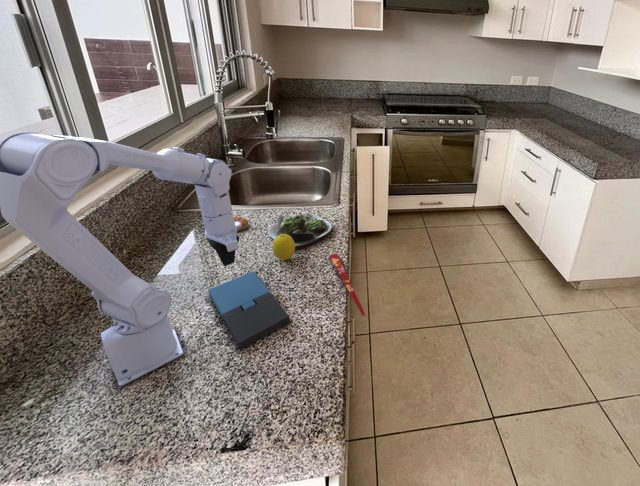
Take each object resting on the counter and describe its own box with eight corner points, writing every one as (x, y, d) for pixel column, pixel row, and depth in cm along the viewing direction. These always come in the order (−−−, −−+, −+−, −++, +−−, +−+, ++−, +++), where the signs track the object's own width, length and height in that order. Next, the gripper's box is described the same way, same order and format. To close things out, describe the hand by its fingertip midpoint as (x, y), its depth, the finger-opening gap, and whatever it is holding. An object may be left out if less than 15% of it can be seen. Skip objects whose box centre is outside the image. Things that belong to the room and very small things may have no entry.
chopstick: (361, 318, 74) (360, 314, 74) (329, 258, 93) (329, 255, 93) (369, 314, 75) (369, 311, 75) (337, 256, 94) (336, 253, 94)
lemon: (289, 251, 96) (286, 226, 93) (300, 259, 93) (297, 234, 90) (270, 259, 92) (266, 234, 89) (281, 269, 89) (277, 242, 86)
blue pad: (226, 325, 72) (224, 318, 71) (209, 295, 79) (208, 289, 79) (274, 301, 78) (273, 295, 77) (254, 276, 86) (253, 270, 85)
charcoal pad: (240, 350, 66) (238, 343, 65) (223, 320, 73) (221, 314, 72) (289, 322, 73) (288, 316, 72) (270, 297, 79) (269, 291, 79)
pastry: (250, 221, 110) (248, 210, 109) (246, 232, 104) (244, 221, 103) (218, 224, 108) (216, 213, 107) (212, 236, 102) (209, 225, 100)
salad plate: (254, 230, 105) (251, 217, 103) (307, 211, 117) (305, 199, 116) (284, 258, 93) (281, 243, 91) (339, 233, 105) (338, 220, 103)
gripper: (248, 217, 72) (258, 270, 77) (225, 194, 81) (235, 243, 86) (211, 229, 67) (224, 285, 72) (191, 204, 77) (204, 254, 82)
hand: (228, 263), depth 79 cm, fingers closed
